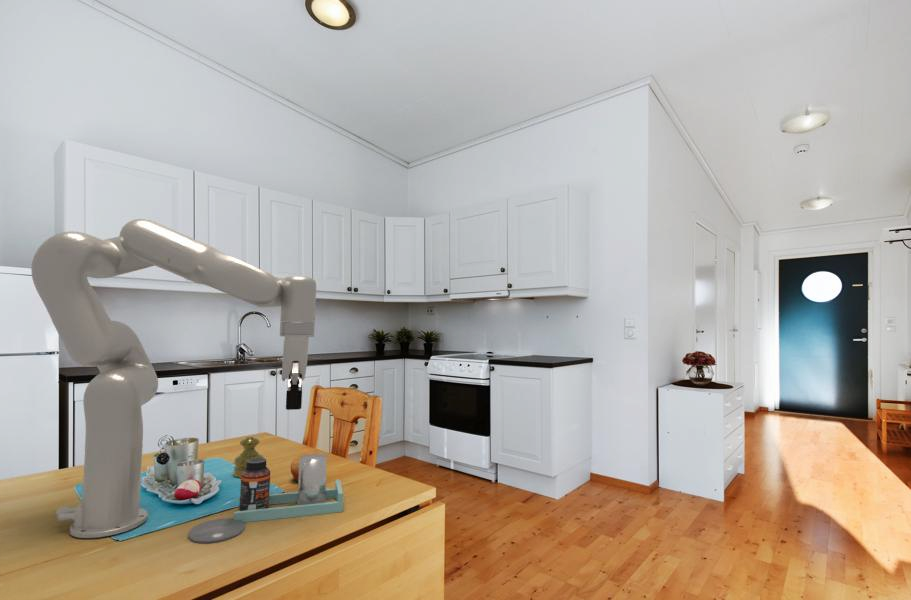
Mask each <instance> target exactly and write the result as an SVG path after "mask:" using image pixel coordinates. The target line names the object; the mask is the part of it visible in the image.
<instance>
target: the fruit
mask: <svg viewBox="0 0 911 600" xmlns="http://www.w3.org/2000/svg"><path fill="white" fill-rule="evenodd" d="M309 454H317V453H316V452H304V453H301V454H299V456H296V458H294V459H293V460H292V461H291V464H290V472H291V476H292V477H293V478H294V480H295V481H297V482H299V458H300V457H302V456H304V455H309Z"/></svg>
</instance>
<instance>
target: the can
mask: <svg viewBox="0 0 911 600" xmlns="http://www.w3.org/2000/svg"><path fill="white" fill-rule="evenodd" d="M327 461H328V459H327V455H326V454H321V453H316V454H309V455H304V456H302V457H300V458H299V481H297V482H298V484H297V485H298V487H297V490H298V491H297V492H298V502H297V505H306V504H316V503H326V499H325V495H326V489H327V484H326V483H327V463H328V462H327Z"/></svg>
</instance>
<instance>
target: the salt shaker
mask: <svg viewBox="0 0 911 600" xmlns="http://www.w3.org/2000/svg"><path fill="white" fill-rule="evenodd" d="M239 444H240V445H241V446H242V447H243V451H242V452H241V453H240V454H239V455H238V456H236V457H235V458H234V460H233V463H234V465H235V466H234V467H233V476H234V477H235V478H237V477H239V478H238V479H241V475H242V472H243V471H244V470H246V468H247V467H246V466H247V461H248V460H249V459H253V458H264V456H263V454H261V453H259V451H257V450H256V446H257V445H259V444H260V439H259V438H256V437H254V436H247V437H246V438H244V439H241V440H240V441H239Z"/></svg>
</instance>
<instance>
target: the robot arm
mask: <svg viewBox="0 0 911 600" xmlns="http://www.w3.org/2000/svg"><path fill="white" fill-rule="evenodd" d="M154 266H155V267H158V268H160V269H163V271H167V272H170V273H172V274H174V275H176V276H179V277H181V278H184V279H185V280H189V281H191V282H193V283H196V284H200V285H204V286H207V287H210V288H213V289H215V290H218V291H219V292H222V293H225V294H226V295H229V296H232V297H234V298H236V299H239V300H241V301H243V302H246V303H249V304H250V305H252V306H253V305H254V306H257V307H258V308H274V307H280V322H279V337H283V338H284V340H283V346H282V347H283V348H282V349H283V350H282V369H281V381H283V382H285V381H286V380H288V382H287V390H286V397H285V400H286V401H285V409H286V410H288V411H290V410H301V409H302V403H303V398H302V397H303V384H302V381H304V380H305V378H306V371H307V367H308V357H309V356H308V355H309V341H310V340H309V339H310V338H314V337H315V328H316V327H315V322H316V301H317V282H316V280H315V279H314V278H313V277H308V276H300V275H293V276H292V275H291V276H289V275H288V276H286V277H285V278H284V277H276V276H274V275H273V274H271V273H270V272H267V271H265V270H263V269H261V268H259V267H256V266H254V265H252V264H249V263H248V262H246V261H245V262H244V261H243V260H240V259H238V258H235V257H233V256H231V255H229V254H226V253H224V252H223V251H220V250H219V249H217V248H215V247H214V246H213V247H212V246H210V245H208V244H206V243H204V242H201V241H199V240H197V239H194V238H192V237H190V236H188V235H185V234H183V233H182V232H178V231H176V230H174V229H172V228H170V227H167V226H165V225H162V224H160V223H158V222H156V221H153V220H151V219H150V220H149V219H147V218H146V219H145V218H136V219H132V220H130V221H128V222H126V223H125V225H124V226H122V228H121V230H120V232H119V236H116V237H110V238H107V239H101V238H98V237H96V236H94V235H92V234H87V233H85V232H79V231H71V230H70V231H62V232H59V233H56V234H54V235H52V236H50V237H49V238H48V239H46V240H44V242H42V244H41V245H40V246H39V247H38V249H37V250H36V251H35V253H34V255H33V258H32V262H31V268H30V269H31V278H32V282H33V285H34V287H35V290H36V292H37V294H38V296H39V298H40V299H41V301H42V302H43V303H42V304H43V305H44V307H45V309H46V312H48V315H49V317H50V319H51V323H52V324H53V325H54V328H55V330H56V332H57V334H58V335H59V338H60V340H61V342H62V344H63V345H64V347H65V350H66V352H67V354H68V356H69V357H70V358H71V360H72V361H73V362H74V363H76V364H77V365H79V366H83V367H88V368H89V367H93V368H94V367H97V369H98V371H99V374H97V375H95V376H94V378H92V379H91V380H90V381H89V382H88V385H87V386H86V388H85V391H84V395H83V412H84V420H85V422H84V423H85V439H84V440H85V441H84V464H83V466H84V467H83V478H82V479H83V480H82V493H81V494H82V495H81V504H78V505H77V506H72V507H71V506H67V507H66V506H65V507H59V508H58V509H57V510H56V514H55V517H56V519H57V521H58V522H64V521H65V522H66V521H72V522H73V523H72V524H71V525H70V526H69V534H70V535H71V536H72V537H75V538H78V539H97V538H98V539H99V538H105V537H110V536H115V535H118V534H123V533H125V532H128V531H131V530H133V529H135V528H137V527H140V526H141V525H143V524H144V523H145V522H146V521H147V519H148V511H147V509H145V508H142V507H140V500H141V499H140V498H141V480H142V466H143V465H142V463H143V462H142V461H143V447H144V446H143V441H144V422H143V412H142V407H143V405H145V404H147V403H149V402H150V401H151V400H153V398H154V397H155V395H156V393H157V392H158V389H159V388H158V387H159V379H158V375H157V373H156V371H155V369H154V367H153V365H152V363H151V361H150V359H149V357H148V355H147V352H146V350H145V348H144V346H143V344H142V342H141V341H140V339H139V336H138V335H137V333H136V332H135V331H134V330H133V328H131V327H130V326H129V325H127V324H126V323H124V322H122V321H121V322H120V321H118V320H111V318H110V317H109V315H108V313H107V311H106V309H105V307H104V305H103V303H102V301H101V299H100V297H99V294H98V293H97V292H96V291H95V290H94V288H93V287H92V285H91V284H90V282H89V279H88V278H91V279H93V278H94V279H107V278H108V279H109V278H113V277H117V276H121V275H125V274H129V273H133V272H135V271H136V272H137V271H140V270H145V269H147V268H151V267H154Z"/></svg>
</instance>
